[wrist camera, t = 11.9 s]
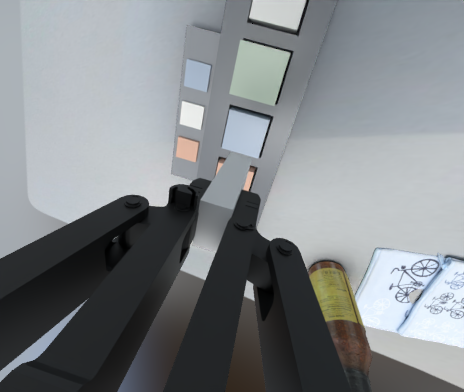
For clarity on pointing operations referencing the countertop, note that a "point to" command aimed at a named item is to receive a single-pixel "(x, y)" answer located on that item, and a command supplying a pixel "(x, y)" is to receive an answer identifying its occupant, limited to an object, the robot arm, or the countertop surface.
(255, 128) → the key slate
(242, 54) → the key sage
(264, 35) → the keypad
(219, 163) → the key terracotta
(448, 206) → the countertop surface
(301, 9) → the key white
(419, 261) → the folded patterned cloth
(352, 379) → the sauce bottle
